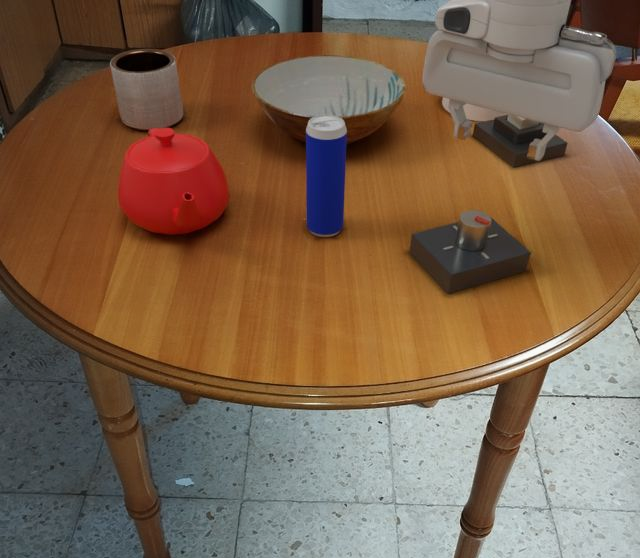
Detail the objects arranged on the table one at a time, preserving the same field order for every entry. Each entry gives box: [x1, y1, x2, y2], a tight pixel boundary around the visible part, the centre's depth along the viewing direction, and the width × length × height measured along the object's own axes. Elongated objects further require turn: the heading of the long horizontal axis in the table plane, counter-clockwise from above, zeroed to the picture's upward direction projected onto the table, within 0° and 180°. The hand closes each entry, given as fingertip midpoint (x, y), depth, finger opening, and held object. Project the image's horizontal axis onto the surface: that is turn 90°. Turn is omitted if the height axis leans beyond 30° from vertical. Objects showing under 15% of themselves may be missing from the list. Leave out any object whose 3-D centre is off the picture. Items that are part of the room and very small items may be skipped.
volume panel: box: [409, 217, 532, 295], centre depth 89 cm, size 12×10×3 cm
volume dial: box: [455, 209, 492, 251], centre depth 87 cm, size 4×4×4 cm
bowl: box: [250, 54, 407, 146], centre depth 112 cm, size 25×25×8 cm
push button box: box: [472, 115, 568, 168], centre depth 111 cm, size 10×12×4 cm
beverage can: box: [305, 115, 347, 238], centre depth 90 cm, size 5×5×15 cm
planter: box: [109, 48, 184, 132], centre depth 115 cm, size 11×11×10 cm
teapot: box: [117, 127, 231, 236], centre depth 93 cm, size 25×16×12 cm, turn 21°
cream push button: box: [507, 114, 539, 129], centre depth 109 cm, size 4×4×2 cm
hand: (497, 147), depth 80 cm, fingers open, 8 cm apart
